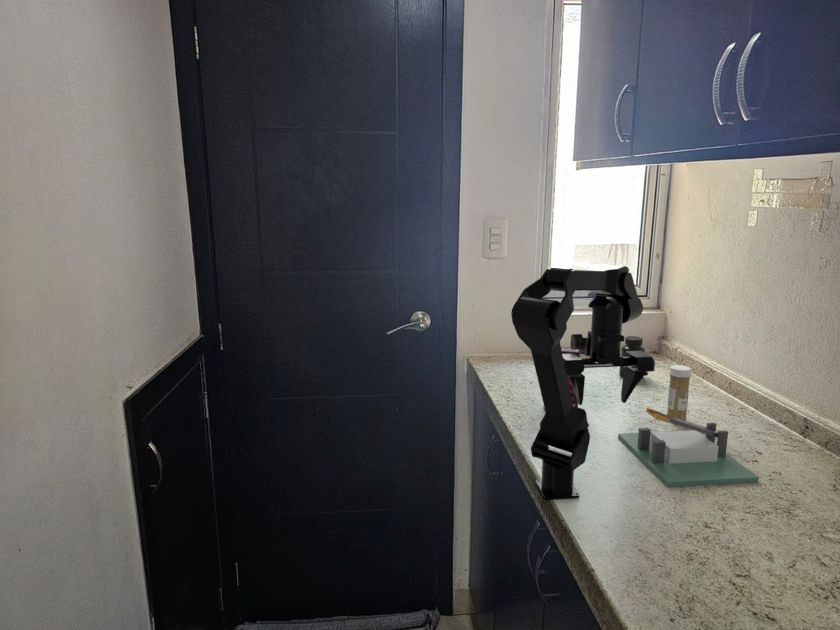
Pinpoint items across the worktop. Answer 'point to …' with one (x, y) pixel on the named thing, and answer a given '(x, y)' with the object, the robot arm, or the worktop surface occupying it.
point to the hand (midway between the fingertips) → (601, 403)
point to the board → (691, 469)
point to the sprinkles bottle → (678, 391)
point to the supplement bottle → (631, 347)
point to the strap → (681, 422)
